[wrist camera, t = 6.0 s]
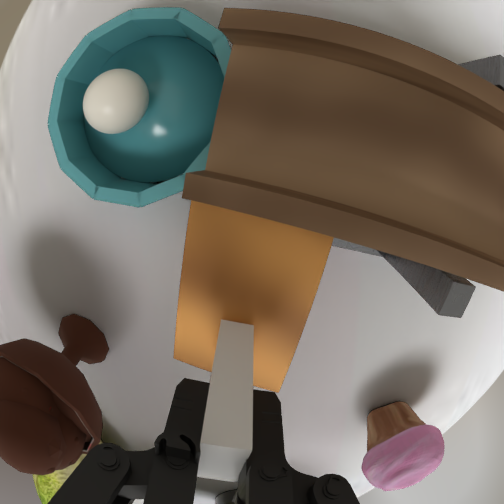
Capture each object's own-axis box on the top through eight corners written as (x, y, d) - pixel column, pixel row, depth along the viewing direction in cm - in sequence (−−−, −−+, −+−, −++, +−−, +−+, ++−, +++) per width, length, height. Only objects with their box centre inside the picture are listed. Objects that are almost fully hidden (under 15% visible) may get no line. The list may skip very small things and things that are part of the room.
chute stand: (485, 278, 20) (548, 333, 12) (251, 224, 19) (247, 297, 10) (521, 146, 16) (599, 164, 7) (293, 34, 15) (324, -46, 6)
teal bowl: (222, 207, 19) (215, 221, 15) (70, 182, 18) (41, 191, 15) (260, 36, 15) (260, 15, 11) (98, 30, 14) (74, 16, 11)
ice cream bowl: (33, 272, 21) (-78, 371, 7) (140, 312, 22) (54, 476, 8) (45, 356, 24) (-22, 454, 10) (135, 394, 25) (90, 520, 11)
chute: (489, 383, 16) (515, 438, 10) (202, 319, 19) (157, 380, 13) (572, 186, 10) (628, 204, 4) (254, 50, 13) (215, -3, 7)
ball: (117, 135, 13) (64, 132, 13) (153, 137, 16) (104, 132, 17) (133, 60, 11) (77, 65, 11) (166, 76, 15) (115, 76, 15)
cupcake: (343, 407, 26) (365, 489, 16) (421, 374, 24) (460, 446, 15) (355, 443, 28) (372, 509, 19) (420, 416, 27) (447, 477, 18)
